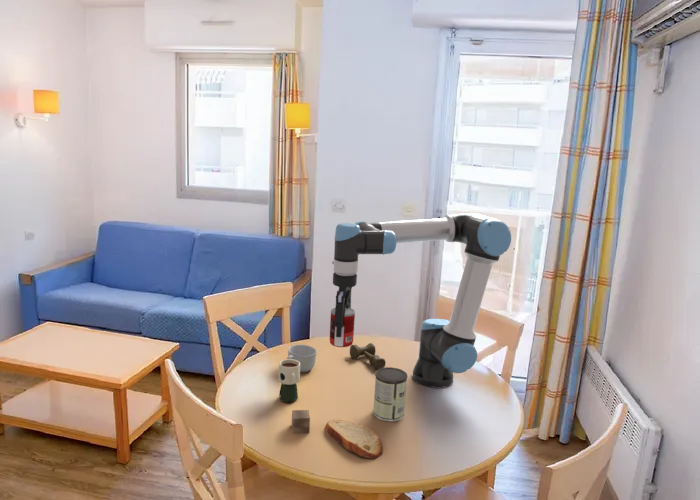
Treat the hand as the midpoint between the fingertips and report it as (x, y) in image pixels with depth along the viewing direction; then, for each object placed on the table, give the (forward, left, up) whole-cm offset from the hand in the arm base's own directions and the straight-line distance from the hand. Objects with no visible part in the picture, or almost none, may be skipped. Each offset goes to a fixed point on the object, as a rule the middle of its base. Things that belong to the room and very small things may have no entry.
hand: (341, 340), depth 180 cm
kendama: (-3, -40, -24) cm, 47 cm away
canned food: (0, 0, -1) cm, 1 cm away
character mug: (+17, 0, -23) cm, 29 cm away
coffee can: (-17, 0, -23) cm, 29 cm away
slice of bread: (-8, +19, -24) cm, 32 cm away
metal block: (+8, +17, -23) cm, 30 cm away
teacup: (+20, -23, -23) cm, 38 cm away
